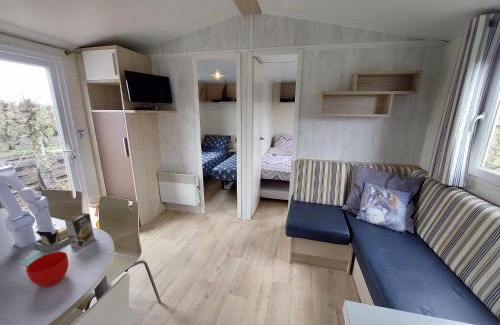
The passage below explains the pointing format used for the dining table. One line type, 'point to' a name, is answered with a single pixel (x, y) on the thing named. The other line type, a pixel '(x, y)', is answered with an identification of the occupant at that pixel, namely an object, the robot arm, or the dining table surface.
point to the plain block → (62, 234)
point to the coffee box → (79, 230)
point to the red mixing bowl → (48, 269)
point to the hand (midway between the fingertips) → (50, 242)
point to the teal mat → (32, 258)
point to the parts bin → (52, 248)
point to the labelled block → (46, 242)
